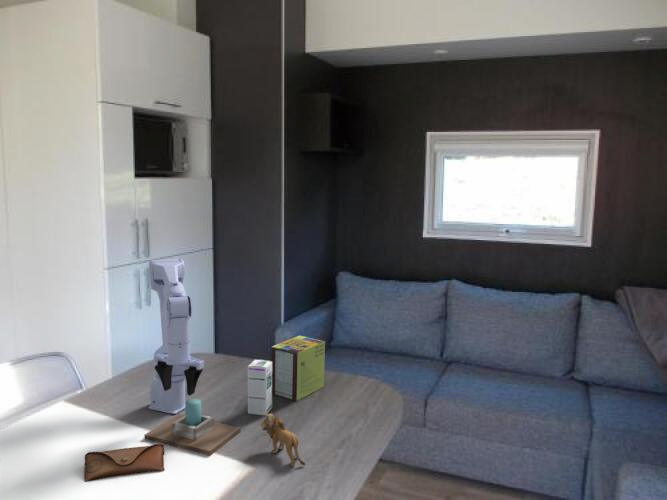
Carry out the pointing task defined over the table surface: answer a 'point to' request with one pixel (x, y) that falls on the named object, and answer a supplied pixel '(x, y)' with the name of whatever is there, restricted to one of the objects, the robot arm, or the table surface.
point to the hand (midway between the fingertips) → (179, 391)
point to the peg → (193, 412)
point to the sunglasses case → (123, 462)
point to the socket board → (193, 434)
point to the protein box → (297, 367)
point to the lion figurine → (281, 436)
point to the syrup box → (260, 387)
